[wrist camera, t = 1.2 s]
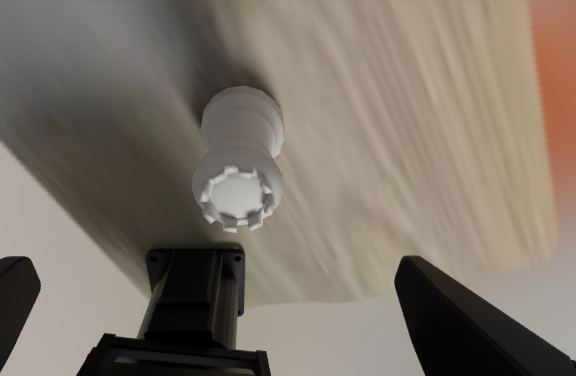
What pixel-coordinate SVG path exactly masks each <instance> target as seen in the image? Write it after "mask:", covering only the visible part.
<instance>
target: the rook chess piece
mask: <svg viewBox="0 0 576 376" xmlns="http://www.w3.org/2000/svg"><path fill="white" fill-rule="evenodd" d="M284 131H285V130H284V120H283V114H282V113H281V111H280V109H279V107H278V105H277V104H276V102H275V101H274V100H273V99H272V98H271V97H269V96H268V95H267V94H266V93H264V92H263V91H262V90H259V89H255V88H252V87H248V86H237V87H229V88H226V89H225V90H223V91H221V92H220V93H218V94H216V95H214V96H213V97H212V99H211V100H210V102H209V103H208V105H207V106H206V107H205V109H204V112H203V117H202V123H201V129H200V132H201V136H202V140H203V144H204V148H205V149H206V151H207V152H208V154H207V155H206V156H205V157H204V158H203V159H202V160H201V162H200V163H199V164H198V166H197V167H196V168H195V170H194V173H193V179H192V185H191V187H192V191H193V194H194V197H195V201H196V203H197V204H198V205H199V206H200V207H201V208H202V210H203V211H202V215H203V216H204V217H205V218H206V220H207V221H208V222H209V223H210V224H211V223H212V222H214V221H215V220H218V221H220V222H222V223H224V225H223V231H227V232H233V233H237V225H244V224H248V227H249V229H250V231H252V230H254V229H256V228H258V227H260V226H262V225H263V218H265V217H267V216H269V215H271V216H272V213H273V211H274V210H275V209H276V207H277V206H278V205H279V204H280V201H281V198H282V195H283V192H284V184H283V175H282V173H281V171H280V170H279V168H278V167H277V165H276V163H275V162H274V158H275V157H276V156H277V154H278V153H279V152H280V150H281V147H282V143H283V140H284V137H285V134H284Z"/></svg>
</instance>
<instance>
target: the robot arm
mask: <svg viewBox="0 0 576 376" xmlns="http://www.w3.org/2000/svg"><path fill="white" fill-rule="evenodd" d="M152 256H155V257H157V258H154V257H152ZM236 256H240V257H239V258H237V257H236ZM146 264H147V269H148V274H149V280H150V285H151V290H152V296H151V299H150V302H149V305H148V308H147V310H146V313H145V316H144V319H143V322H142V325H141V327H140V330H139V333H138V336H137V338H136V339H135V338H126V337H117V336H116V335H115V334H108V333H104V335H103V337H102V338H101V340H100V341H99V343H98V345H97V347H93V348H92V350H91V352H90V353H89V354H88V356H87V358H86V360H85V362H84V363H83V365H82V367H81V368H80V370H79V372H78V373H77V375H76V376H271V373H270V368H269V363H268V358H267V353H266V351H260V350H257V351H256V352H254V351H245V350H236V331H237V317H239V316H242V315H243V313H244V286H245V252H244V251H242V250H240V249H152V250H150V251H148V253H147V255H146ZM394 284H395V289H396V292H397V295H398V298H399V302H400V306H401V309H402V312H403V316H404V318H405V322H406V326H407V329H408V332H409V335H410V338H411V341H412V344H413V347H414V349H415V352H416V354H417V357H418V359H419V362H420V364H421V366H422V369H423V371H424V374H425V376H576V361H575V360H571V359H570V357H569V356H567V355H566V354H564V353H563V352H561V351H560V350H559V349H557V348H556V347H554V346H553V345H551V344H550V343H548V342H546V341H545V340H543V339H542V338H540V337H539V336H538V335H536V334H535V333H533V332H532V331H530V330H529V329H527V328H526V327H524V326H523V325H521V324H520V323H518V322H517V321H515V320H514V319H512V318H511V317H510V316H508V315H506V314H505V313H503V312H502V311H500V310H499V309H498V308H496V307H495V306H493V305H492V304H490V303H489V302H487V301H486V300H484V299H483V298H481V297H479V296H478V295H477V294H475V293H474V292H472V291H471V290H469V289H468V288H466V287H465V286H463V285H462V284H461V283H459V282H458V281H456V280H455V279H453V278H452V277H450V276H449V275H447V274H446V273H444V272H443V271H441V270H440V269H438V268H437V267H435V266H434V265H432V264H431V263H429V262H428V261H426V260H425V259H423V258H422V257H420V256H416V255H406V256H403V257H402V259H401V261H400V264H399V267H398V270H397V273H396V275H395V280H394ZM40 287H41V283H40V280H39V278H38V275H37V273H36V270H35V268H34V265H33V263H32V261H31V259H29V258H28V257H25V256H9V257H4V258H2V259H0V372H1V370H2V368H3V366H4V365H5V363H6V361H7V359H8V358H9V356H10V354H11V352H12V350H13V348H14V346H15V344H16V342H17V339H18V337H19V335H20V333H21V330H22V329H23V327H24V325H25V322H26V320H27V318H28V316H29V314H30V312H31V310H32V308H33V305H34V303H35V301H36V299H37V297H38V294H39V292H40V289H41V288H40Z"/></svg>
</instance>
